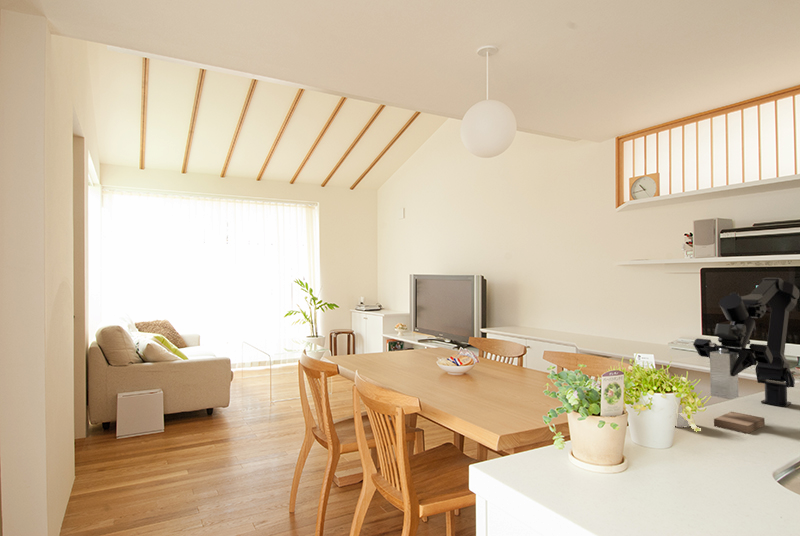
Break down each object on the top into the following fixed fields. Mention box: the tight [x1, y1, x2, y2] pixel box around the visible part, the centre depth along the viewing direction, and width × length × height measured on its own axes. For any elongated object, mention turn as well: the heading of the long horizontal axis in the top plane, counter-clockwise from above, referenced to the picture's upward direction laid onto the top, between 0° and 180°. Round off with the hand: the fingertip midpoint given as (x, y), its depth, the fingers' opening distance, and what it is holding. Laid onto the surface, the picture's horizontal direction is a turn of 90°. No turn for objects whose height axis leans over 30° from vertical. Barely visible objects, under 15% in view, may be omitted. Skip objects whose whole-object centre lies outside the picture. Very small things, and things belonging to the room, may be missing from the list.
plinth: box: [713, 411, 766, 434], centre depth 134 cm, size 12×8×2 cm, turn 126°
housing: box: [709, 348, 740, 400], centre depth 138 cm, size 5×5×14 cm
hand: (722, 373), depth 137 cm, fingers closed on housing, 5 cm apart
